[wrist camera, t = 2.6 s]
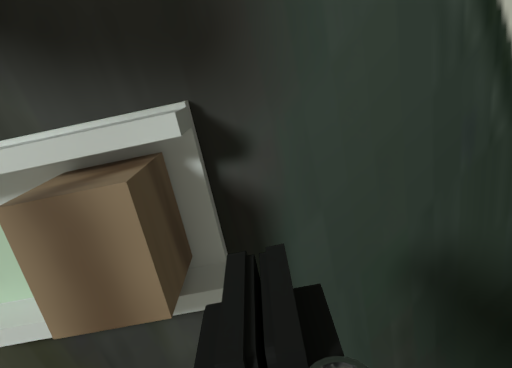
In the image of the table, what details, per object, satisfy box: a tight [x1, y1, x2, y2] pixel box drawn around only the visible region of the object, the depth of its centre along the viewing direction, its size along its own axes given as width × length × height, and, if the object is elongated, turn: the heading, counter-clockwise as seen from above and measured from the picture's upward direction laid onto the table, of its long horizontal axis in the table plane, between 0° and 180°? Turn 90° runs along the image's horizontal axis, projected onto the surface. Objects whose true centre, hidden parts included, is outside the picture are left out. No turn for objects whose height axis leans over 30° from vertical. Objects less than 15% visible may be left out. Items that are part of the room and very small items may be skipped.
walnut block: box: [0, 152, 193, 340], centre depth 19 cm, size 6×7×6 cm
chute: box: [0, 100, 228, 347], centre depth 21 cm, size 20×12×4 cm, turn 102°
